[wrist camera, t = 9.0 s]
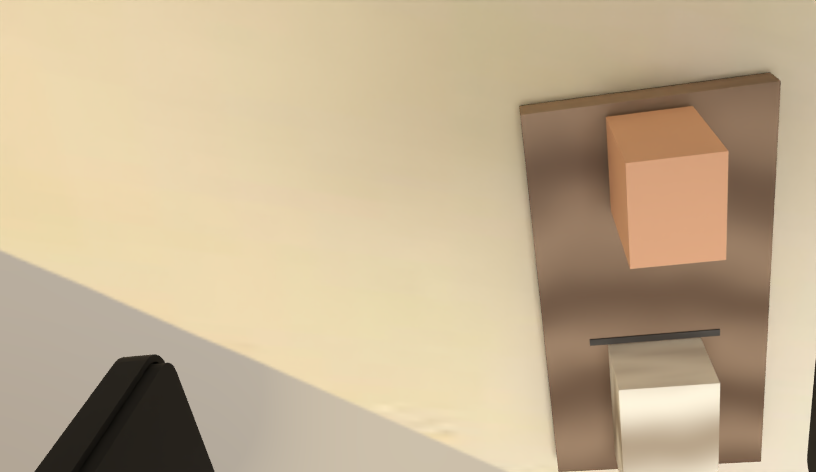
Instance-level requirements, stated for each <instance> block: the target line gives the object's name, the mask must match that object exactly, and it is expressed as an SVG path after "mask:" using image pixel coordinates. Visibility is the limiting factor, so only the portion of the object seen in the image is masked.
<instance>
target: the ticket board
mask: <svg viewBox="0 0 816 472" xmlns="http://www.w3.org/2000/svg"><path fill="white" fill-rule="evenodd" d="M780 85H781V81H780V80H779V79H778V78H776V77H775V76H774V75H772V74H771V73H763V74H755V75H748V76H740V77H733V78H725V79H718V80H710V81H703V82H695V83H688V84H680V85H673V86H665V87H658V88H650V89H643V90H635V91H628V92H620V93H613V94H605V95H598V96H590V97H583V98H575V99H568V100H560V101H553V102H545V103H538V104H530V105H523V106H520V115H521V125H522V134H523V143H524V153H525V162H526V171H527V181H528V190H529V200H530V209H531V218H532V228H533V237H534V246H535V256H536V265H537V274H538V284H539V293H540V302H541V312H542V321H543V331H544V340H545V349H546V359H547V368H548V377H549V387H550V396H551V405H552V415H553V424H554V433H555V443H556V452H557V461H558V471H559V472H566V471H586V470H605V469H618V470H619V472H718V468H719V464H721V463H740V462H760V461H761V447H762V428H763V409H764V390H765V371H766V352H767V333H768V314H769V295H770V276H771V257H772V237H773V218H774V199H775V180H776V161H777V142H778V123H779V104H780ZM687 106H693V107H694V108H695V109H696V111H697V112H698V113H699V114H700V116H701V117H702V118H703V119H704V121H705V122H706V123H707V124H708V126H709V127H710V128H711V130H712V131H713V132H714V133H715V135H716V136H717V137H718V138H719V140H720V141H721V142H722V143H723V145H724V146H725V147H726V148H727V150H728V151H729V155H728V201H727V246H726V260H720V261H710V262H699V263H689V264H678V265H667V266H657V267H646V268H636V269H630V267H629V264H628V261H627V258H626V255H625V252H624V249H623V246H622V243H621V240H620V237H619V234H618V231H617V228H616V225H615V222H614V219H613V216H612V213H611V205H610V187H609V168H608V150H607V132H606V117H609V116H617V115H625V114H633V113H641V112H648V111H656V110H664V109H672V108H680V107H687Z"/></svg>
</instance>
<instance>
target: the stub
mask: <svg viewBox="0 0 816 472" xmlns="http://www.w3.org/2000/svg"><path fill="white" fill-rule="evenodd" d="M606 132H607V150H608V168H609V187H610V205H611V213H612V216H613V219H614V222H615V225H616V228H617V231H618V234H619V237H620V240H621V243H622V246H623V249H624V252H625V255H626V258H627V261H628V264H629V267H630V269H636V268H646V267H657V266H667V265H678V264H689V263H699V262H710V261H720V260H726V246H727V201H728V155H729V151H728V150H727V148H726V147H725V146H724V145H723V143H722V142H721V141H720V140H719V138H718V137H717V136H716V135H715V133H714V132H713V131H712V130H711V128H710V127H709V126H708V124H707V123H706V122H705V121H704V119H703V118H702V117H701V116H700V114H699V113H698V112H697V111H696V109H695V108H694V107H693V106H687V107H680V108H672V109H664V110H656V111H648V112H641V113H633V114H625V115H617V116H609V117H606Z"/></svg>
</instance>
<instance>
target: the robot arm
mask: <svg viewBox="0 0 816 472" xmlns="http://www.w3.org/2000/svg"><path fill="white" fill-rule="evenodd" d="M807 463H808V470H809V472H816V362H815V374H814V385H813V397H812V408H811V420H810V431H809V443H808V454H807ZM35 472H214V469H213V466H212V464H211V461H210V459H209V456H208V454H207V451H206V448H205V445H204V443H203V440H202V438H201V435H200V433H199V430H198V427H197V425H196V422H195V420H194V417H193V414H192V411H191V409H190V406H189V403H188V401H187V398H186V396H185V393H184V390H183V388H182V385H181V383H180V380H179V377H178V374H177V372H176V370H175V368H174V366H173V365H172V364H170V363H165V362H164V360H163V359H162V358H161V357H160V356H158V355H144V356H132V357H123V358H120V359H118V360H117V361H116V362H115V363H114V364H113V366H112V367H111V369H110V370H109V371H108V373H107V374H106V375H105V377H104V378H103V379H102V381H101V382H100V383H99V385H98V386H97V388H96V389H95V390H94V392H93V393H92V394H91V396H90V397H89V398H88V400H87V401H86V402H85V404H84V405H83V407H82V408H81V409H80V411H79V412H78V413H77V415H76V416H75V417H74V419H73V420H72V422H71V423H70V424H69V426H68V427H67V428H66V430H65V431H64V432H63V434H62V435H61V436H60V438H59V439H58V441H57V442H56V443H55V445H54V446H53V448H52V449H51V450H50V451H49V453H48V454H47V456H46V457H45V458H44V460H43V461H42V462H41V464H40V465H39V466H38V468H37V469H36V470H35Z"/></svg>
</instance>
